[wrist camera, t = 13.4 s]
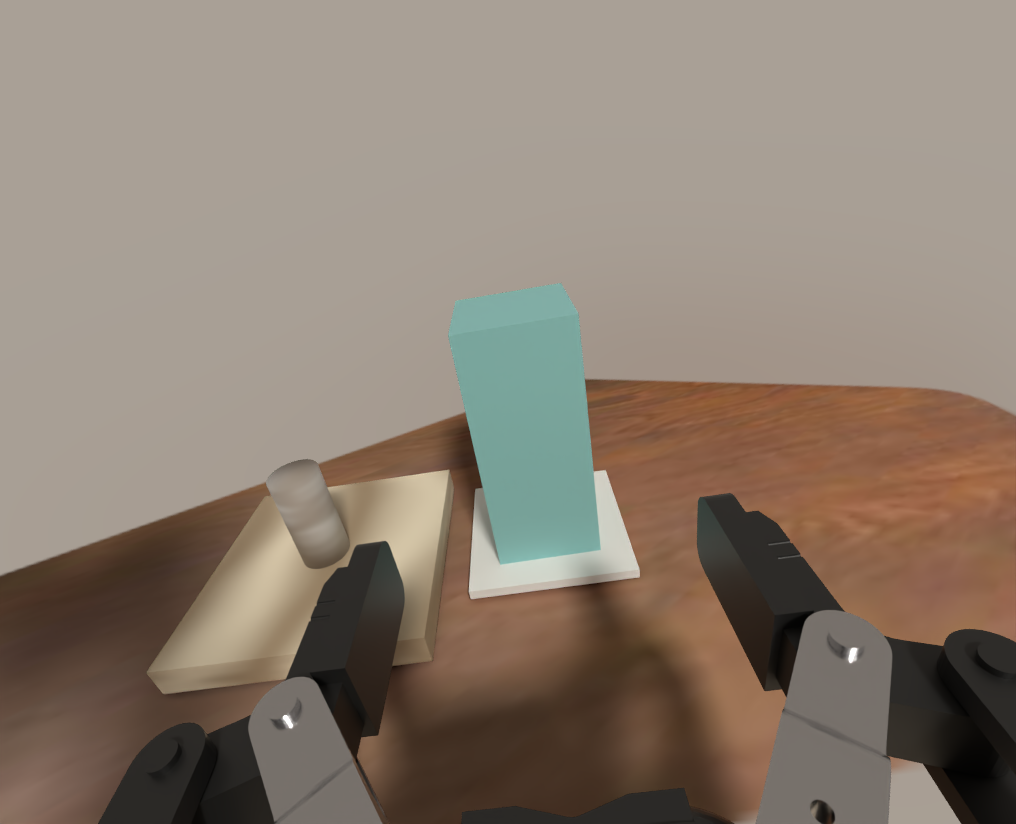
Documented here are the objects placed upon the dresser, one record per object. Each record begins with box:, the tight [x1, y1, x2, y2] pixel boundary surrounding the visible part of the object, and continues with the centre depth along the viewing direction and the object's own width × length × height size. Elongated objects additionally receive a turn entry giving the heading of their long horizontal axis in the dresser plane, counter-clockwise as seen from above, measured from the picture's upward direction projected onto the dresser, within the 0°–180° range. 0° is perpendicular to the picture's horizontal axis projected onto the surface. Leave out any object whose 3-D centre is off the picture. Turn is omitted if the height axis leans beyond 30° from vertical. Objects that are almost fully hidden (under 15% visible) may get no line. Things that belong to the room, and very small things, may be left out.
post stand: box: [146, 459, 454, 694], centre depth 25 cm, size 12×12×6 cm
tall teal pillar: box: [448, 283, 601, 565], centre depth 24 cm, size 5×5×12 cm
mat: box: [469, 470, 640, 599], centre depth 26 cm, size 8×8×1 cm
